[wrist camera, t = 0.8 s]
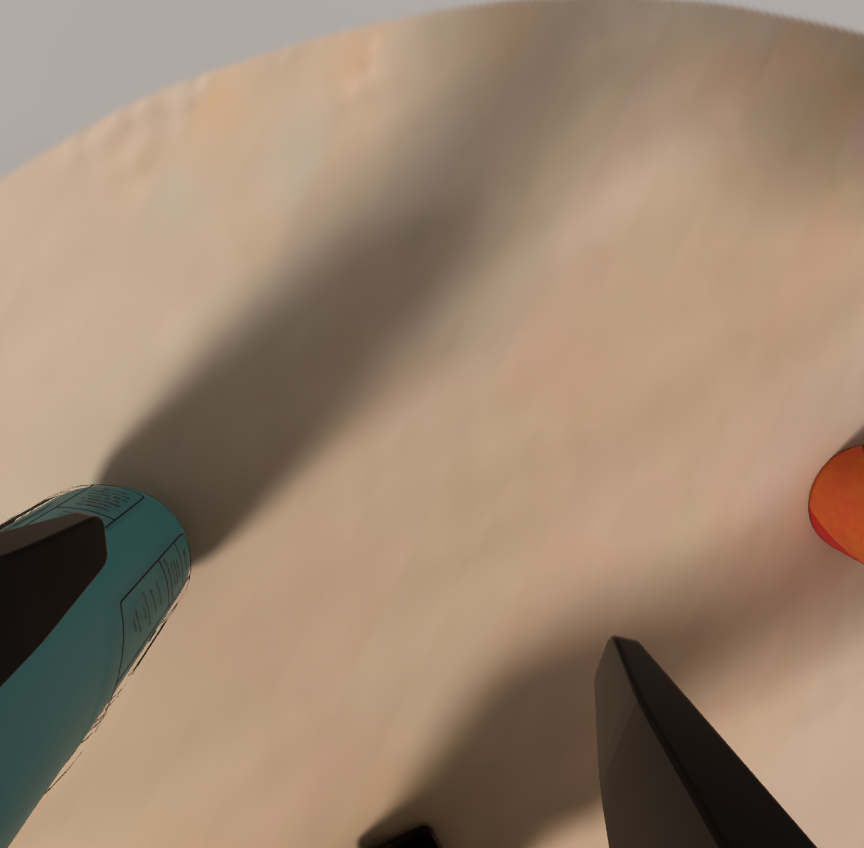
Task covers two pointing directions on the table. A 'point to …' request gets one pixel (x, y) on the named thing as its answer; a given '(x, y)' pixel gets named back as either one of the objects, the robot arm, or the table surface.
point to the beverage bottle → (87, 641)
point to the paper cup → (840, 503)
